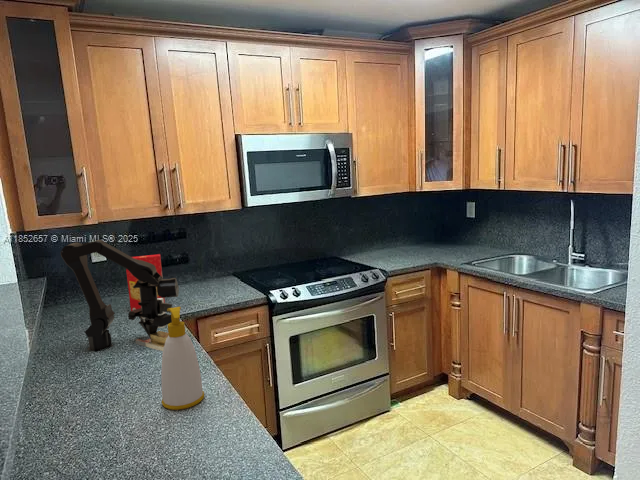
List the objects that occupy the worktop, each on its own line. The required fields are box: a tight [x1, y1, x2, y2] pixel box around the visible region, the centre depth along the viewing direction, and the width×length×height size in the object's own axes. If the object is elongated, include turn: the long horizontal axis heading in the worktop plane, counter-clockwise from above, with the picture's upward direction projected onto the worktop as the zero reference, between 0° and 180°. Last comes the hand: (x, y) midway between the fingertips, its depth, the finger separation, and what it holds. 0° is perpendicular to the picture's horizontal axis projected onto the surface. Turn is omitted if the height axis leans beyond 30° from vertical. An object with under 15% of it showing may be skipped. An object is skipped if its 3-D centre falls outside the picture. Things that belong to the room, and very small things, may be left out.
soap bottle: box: [160, 306, 205, 411], centre depth 118 cm, size 11×12×26 cm
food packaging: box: [125, 253, 166, 311], centre depth 203 cm, size 15×5×25 cm, turn 109°
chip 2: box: [158, 332, 168, 346], centre depth 157 cm, size 4×4×4 cm
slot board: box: [135, 338, 164, 352], centre depth 160 cm, size 16×8×2 cm, turn 58°
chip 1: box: [150, 330, 168, 344], centre depth 159 cm, size 4×4×4 cm
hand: (152, 339), depth 161 cm, fingers closed
